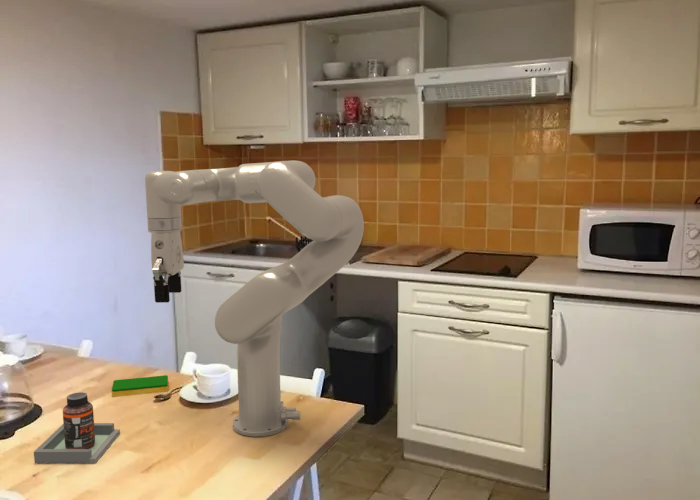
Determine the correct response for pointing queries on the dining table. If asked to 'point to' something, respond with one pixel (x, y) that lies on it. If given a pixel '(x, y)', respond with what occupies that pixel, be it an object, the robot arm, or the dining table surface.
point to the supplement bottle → (78, 422)
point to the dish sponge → (140, 386)
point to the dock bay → (57, 452)
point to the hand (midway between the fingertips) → (168, 297)
